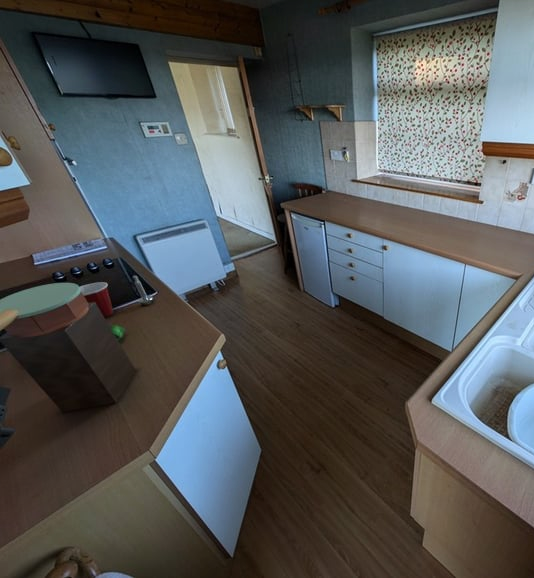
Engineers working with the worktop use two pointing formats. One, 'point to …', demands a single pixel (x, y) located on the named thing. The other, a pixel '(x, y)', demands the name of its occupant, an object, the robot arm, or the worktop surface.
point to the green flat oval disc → (36, 301)
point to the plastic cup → (98, 296)
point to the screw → (142, 292)
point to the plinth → (71, 355)
